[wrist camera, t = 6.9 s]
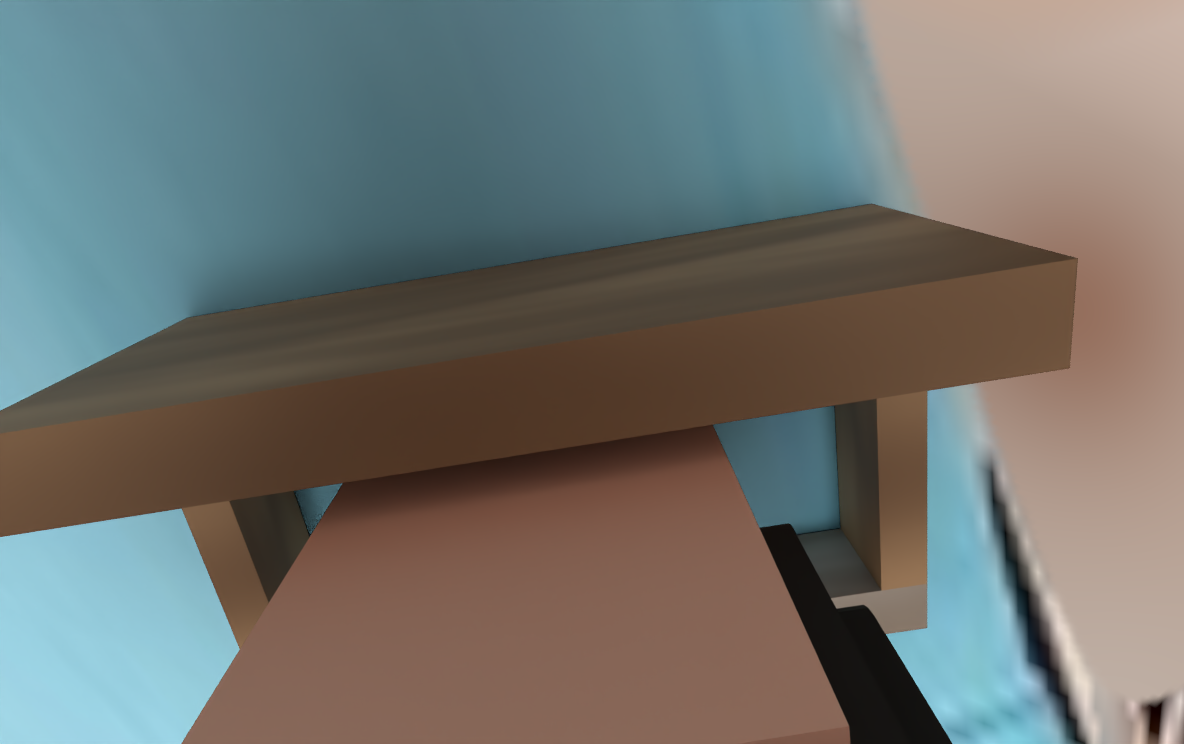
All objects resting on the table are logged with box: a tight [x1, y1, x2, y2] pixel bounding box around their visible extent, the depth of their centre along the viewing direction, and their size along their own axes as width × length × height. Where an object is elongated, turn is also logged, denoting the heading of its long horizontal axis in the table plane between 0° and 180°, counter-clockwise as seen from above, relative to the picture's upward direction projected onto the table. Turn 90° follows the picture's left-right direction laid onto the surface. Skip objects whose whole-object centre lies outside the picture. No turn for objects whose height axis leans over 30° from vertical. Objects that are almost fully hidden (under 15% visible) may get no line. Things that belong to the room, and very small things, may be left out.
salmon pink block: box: [182, 425, 850, 744], centre depth 10 cm, size 5×6×7 cm
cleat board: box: [0, 204, 1078, 649], centre depth 14 cm, size 9×15×6 cm, turn 99°
